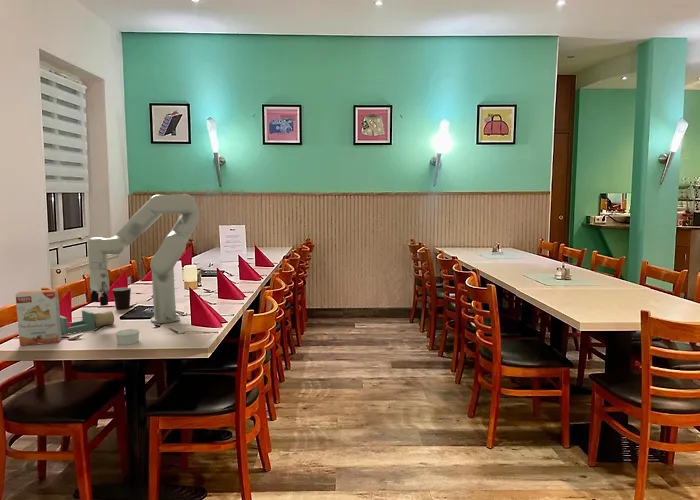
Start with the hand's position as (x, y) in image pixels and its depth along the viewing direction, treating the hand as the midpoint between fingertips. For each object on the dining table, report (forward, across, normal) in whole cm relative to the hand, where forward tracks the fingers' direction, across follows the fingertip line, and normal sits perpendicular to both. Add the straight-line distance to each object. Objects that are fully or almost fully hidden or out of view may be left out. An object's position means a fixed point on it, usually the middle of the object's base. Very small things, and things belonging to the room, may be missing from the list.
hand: (99, 303), depth 244 cm
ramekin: (+10, -36, +4) cm, 37 cm away
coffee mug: (+10, +28, -24) cm, 39 cm away
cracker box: (+11, -9, +27) cm, 30 cm away
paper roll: (+10, -1, -1) cm, 10 cm away
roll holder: (+10, +1, +10) cm, 14 cm away
